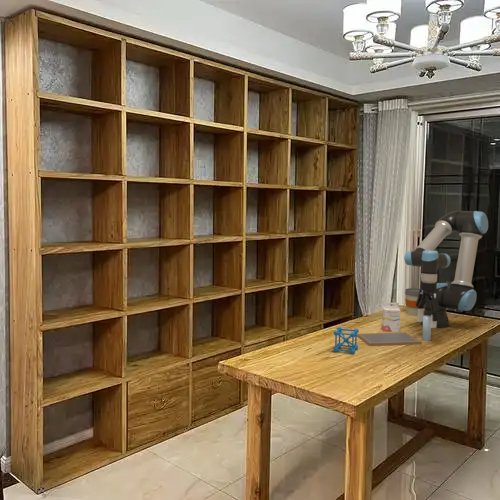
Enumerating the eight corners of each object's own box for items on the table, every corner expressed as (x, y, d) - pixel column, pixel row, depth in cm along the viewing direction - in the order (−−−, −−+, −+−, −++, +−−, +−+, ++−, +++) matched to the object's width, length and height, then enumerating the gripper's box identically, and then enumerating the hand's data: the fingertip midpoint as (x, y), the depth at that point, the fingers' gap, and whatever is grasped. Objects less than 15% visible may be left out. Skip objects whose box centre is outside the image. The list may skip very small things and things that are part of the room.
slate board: (405, 334, 272) (405, 332, 272) (421, 344, 255) (421, 341, 255) (356, 336, 269) (356, 333, 268) (370, 345, 251) (370, 343, 251)
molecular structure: (332, 352, 240) (333, 330, 239) (337, 346, 249) (337, 325, 248) (354, 354, 236) (355, 333, 235) (358, 349, 246) (359, 328, 245)
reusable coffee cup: (405, 316, 315) (406, 291, 314) (403, 311, 328) (403, 287, 326) (427, 317, 313) (428, 292, 312) (424, 312, 326) (425, 288, 324)
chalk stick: (428, 338, 265) (429, 315, 264) (432, 340, 261) (433, 316, 260) (420, 339, 264) (421, 315, 263) (424, 341, 260) (425, 317, 259)
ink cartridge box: (383, 331, 279) (384, 304, 277) (381, 329, 284) (382, 302, 282) (399, 332, 278) (400, 304, 276) (398, 329, 283) (399, 302, 281)
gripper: (410, 278, 271) (408, 319, 273) (434, 285, 247) (431, 330, 249) (423, 278, 272) (421, 318, 274) (449, 285, 248) (446, 330, 250)
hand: (426, 324), depth 261 cm, fingers open, 13 cm apart
